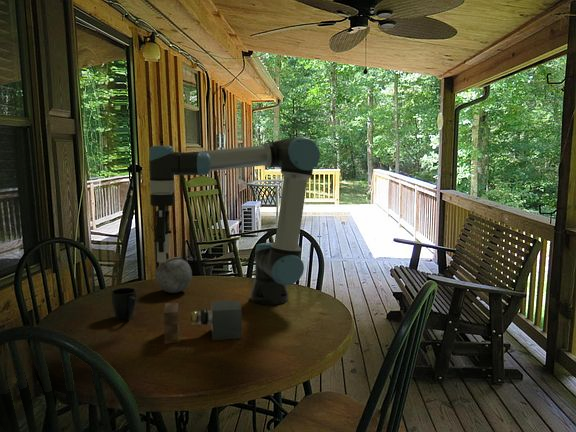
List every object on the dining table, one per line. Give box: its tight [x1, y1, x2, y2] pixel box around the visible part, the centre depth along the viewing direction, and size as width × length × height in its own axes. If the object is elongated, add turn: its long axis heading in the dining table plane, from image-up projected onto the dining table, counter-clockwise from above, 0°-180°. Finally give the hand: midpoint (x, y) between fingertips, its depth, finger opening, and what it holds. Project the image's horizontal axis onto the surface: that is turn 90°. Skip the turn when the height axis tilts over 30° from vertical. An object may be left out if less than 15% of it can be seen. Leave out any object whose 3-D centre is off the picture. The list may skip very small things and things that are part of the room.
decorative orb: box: [154, 256, 193, 294], centre depth 187 cm, size 15×14×15 cm
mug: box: [110, 287, 137, 321], centre depth 156 cm, size 8×12×10 cm
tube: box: [190, 308, 212, 326], centre depth 143 cm, size 14×5×5 cm, turn 102°
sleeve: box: [210, 299, 242, 341], centre depth 144 cm, size 9×9×10 cm
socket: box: [163, 302, 180, 344], centre depth 140 cm, size 4×9×10 cm, turn 12°
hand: (163, 257), depth 148 cm, fingers open, 13 cm apart
